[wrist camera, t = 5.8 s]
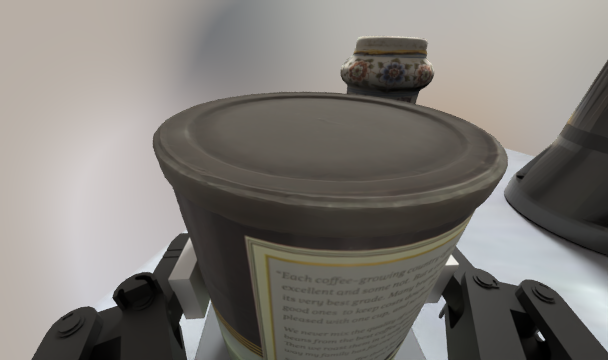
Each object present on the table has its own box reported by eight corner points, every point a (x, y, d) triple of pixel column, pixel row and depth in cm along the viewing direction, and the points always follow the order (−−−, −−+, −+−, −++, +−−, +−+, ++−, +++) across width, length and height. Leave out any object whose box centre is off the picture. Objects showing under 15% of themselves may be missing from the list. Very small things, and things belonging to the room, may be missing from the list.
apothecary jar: (420, 171, 35) (464, 38, 26) (370, 194, 29) (405, 32, 20) (363, 147, 44) (382, 40, 35) (315, 161, 38) (322, 36, 29)
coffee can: (189, 382, 12) (42, 138, 5) (275, 248, 20) (266, 86, 13) (383, 499, 9) (714, 306, 2) (391, 286, 17) (459, 102, 10)
